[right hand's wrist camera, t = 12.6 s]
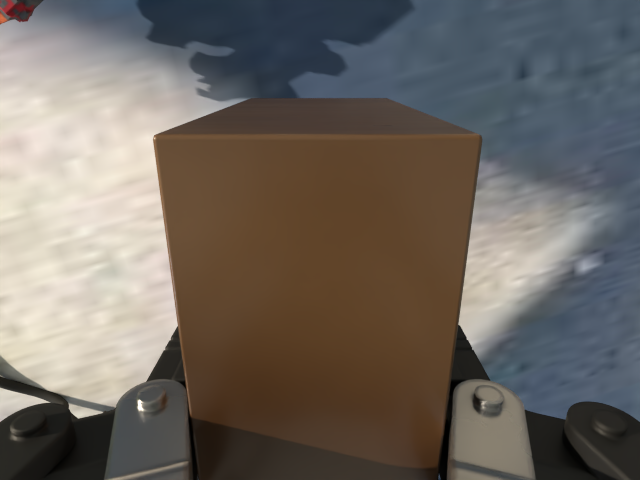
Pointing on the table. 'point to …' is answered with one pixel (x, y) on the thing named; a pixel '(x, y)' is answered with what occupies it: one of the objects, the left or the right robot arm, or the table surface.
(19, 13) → the toy
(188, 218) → the post
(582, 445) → the right robot arm
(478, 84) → the table surface
